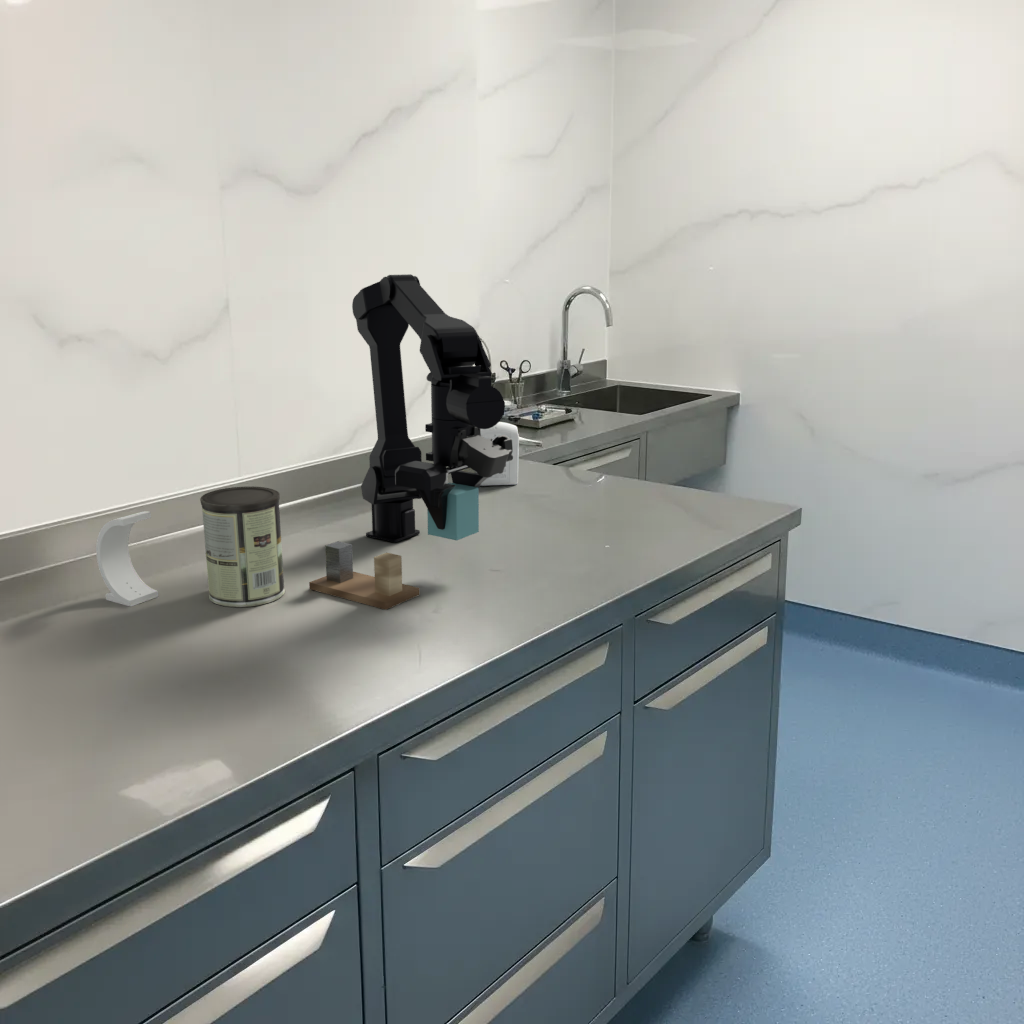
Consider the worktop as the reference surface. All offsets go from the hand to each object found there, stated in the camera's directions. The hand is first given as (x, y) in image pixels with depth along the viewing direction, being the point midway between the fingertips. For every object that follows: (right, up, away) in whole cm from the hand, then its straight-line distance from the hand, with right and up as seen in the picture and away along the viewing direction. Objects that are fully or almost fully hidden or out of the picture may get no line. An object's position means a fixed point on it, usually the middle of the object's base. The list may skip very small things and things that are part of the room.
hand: (453, 524), depth 150 cm
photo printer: (+5, +7, +55) cm, 56 cm away
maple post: (-8, -10, -8) cm, 15 cm away
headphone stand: (-43, -10, -8) cm, 45 cm away
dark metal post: (-16, -9, -3) cm, 18 cm away
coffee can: (-28, -10, -6) cm, 30 cm away
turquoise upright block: (0, -1, 0) cm, 1 cm away
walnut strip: (-12, -9, -5) cm, 16 cm away
